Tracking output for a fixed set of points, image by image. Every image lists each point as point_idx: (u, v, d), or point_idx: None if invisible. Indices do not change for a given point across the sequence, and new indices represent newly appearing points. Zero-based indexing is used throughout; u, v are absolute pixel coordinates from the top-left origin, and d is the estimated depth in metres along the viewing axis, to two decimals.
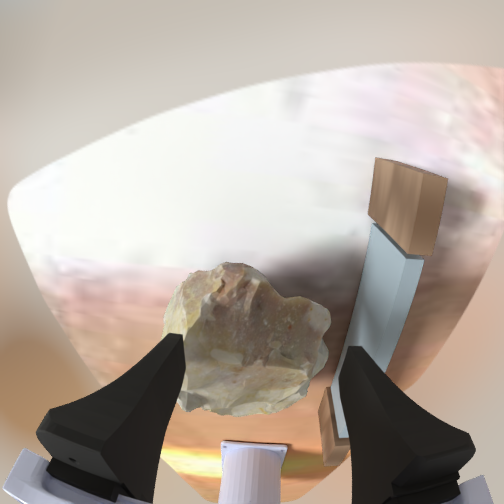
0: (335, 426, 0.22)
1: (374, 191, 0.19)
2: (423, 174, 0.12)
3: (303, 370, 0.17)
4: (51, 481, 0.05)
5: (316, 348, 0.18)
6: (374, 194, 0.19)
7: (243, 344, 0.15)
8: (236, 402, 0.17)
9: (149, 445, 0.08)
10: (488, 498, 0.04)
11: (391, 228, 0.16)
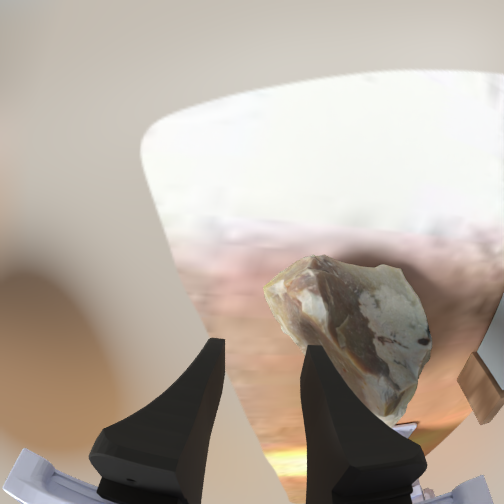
0: (493, 382, 0.19)
1: None
2: None
3: None
4: (51, 481, 0.05)
5: None
6: None
7: (298, 335, 0.16)
8: None
9: (201, 455, 0.08)
10: (488, 498, 0.04)
11: None
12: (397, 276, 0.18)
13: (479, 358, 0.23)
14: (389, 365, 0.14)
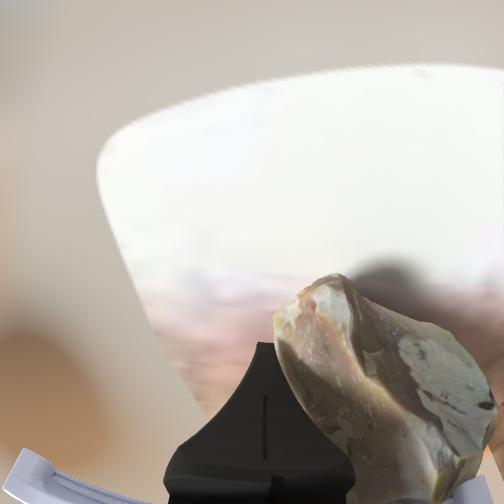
0: None
1: None
2: None
3: None
4: (51, 481, 0.05)
5: (382, 499, 0.06)
6: None
7: (307, 381, 0.11)
8: None
9: None
10: (488, 498, 0.04)
11: None
12: (447, 337, 0.12)
13: None
14: (442, 420, 0.07)
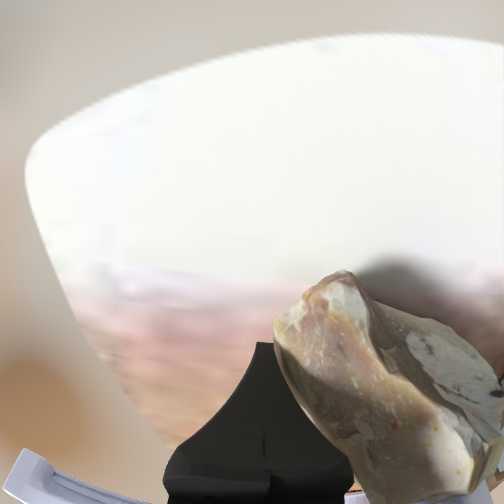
0: None
1: None
2: None
3: (368, 498, 0.07)
4: (51, 481, 0.05)
5: (413, 497, 0.06)
6: None
7: (318, 385, 0.10)
8: None
9: None
10: (488, 498, 0.04)
11: None
12: (448, 331, 0.12)
13: None
14: (464, 410, 0.07)
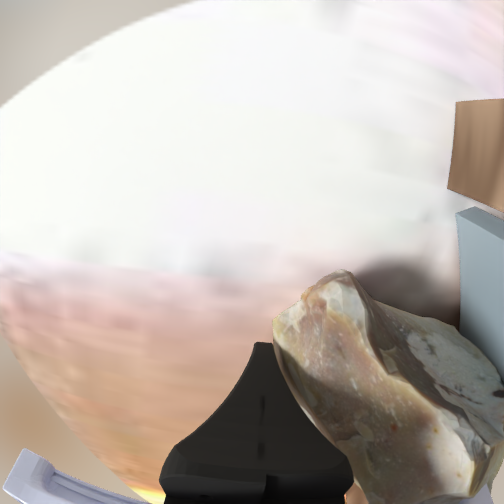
0: None
1: (461, 151, 0.10)
2: None
3: (368, 500, 0.07)
4: (51, 481, 0.05)
5: (413, 500, 0.05)
6: (461, 155, 0.10)
7: (317, 386, 0.10)
8: None
9: None
10: (488, 498, 0.04)
11: None
12: (450, 331, 0.12)
13: None
14: (466, 411, 0.06)
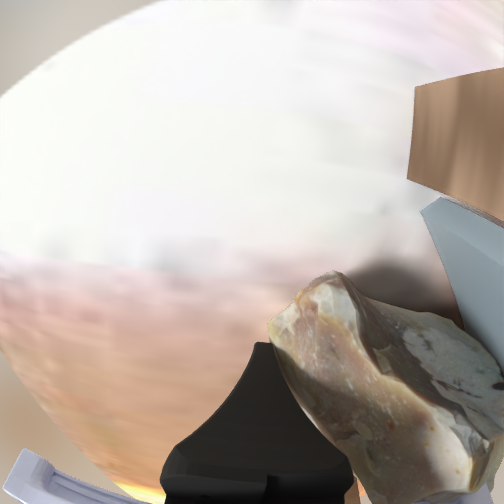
0: None
1: (419, 138, 0.10)
2: None
3: (370, 498, 0.07)
4: (51, 481, 0.05)
5: (414, 497, 0.06)
6: (419, 142, 0.10)
7: (314, 388, 0.10)
8: None
9: None
10: (488, 498, 0.04)
11: (467, 187, 0.07)
12: (447, 324, 0.12)
13: None
14: (463, 407, 0.06)
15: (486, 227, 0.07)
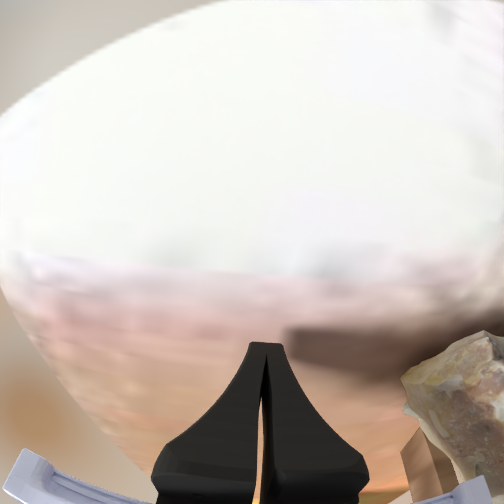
0: (441, 476, 0.12)
1: None
2: None
3: None
4: (51, 481, 0.05)
5: (497, 493, 0.07)
6: None
7: (455, 431, 0.09)
8: (435, 444, 0.12)
9: None
10: (488, 498, 0.04)
11: None
12: None
13: None
14: None
15: None
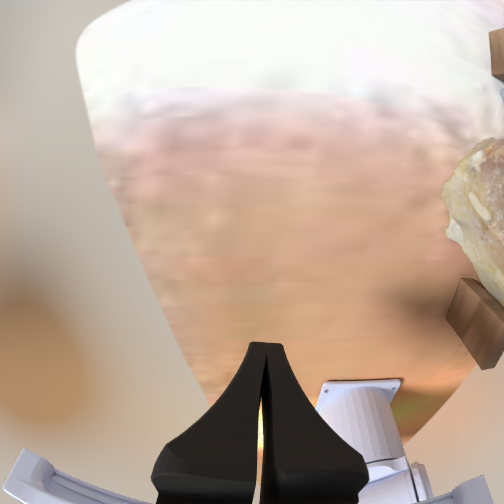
0: (492, 309, 0.16)
1: (496, 54, 0.13)
2: None
3: None
4: (51, 481, 0.05)
5: None
6: (496, 56, 0.13)
7: (493, 206, 0.13)
8: (480, 263, 0.16)
9: None
10: (488, 498, 0.04)
11: None
12: None
13: (471, 284, 0.20)
14: None
15: None
